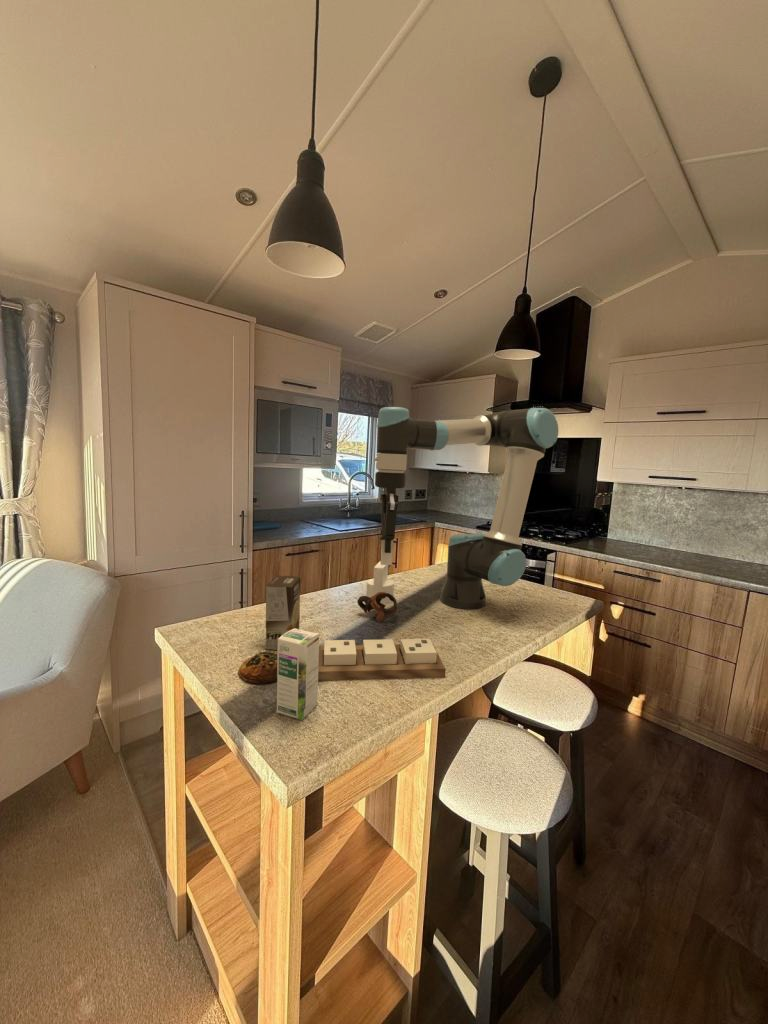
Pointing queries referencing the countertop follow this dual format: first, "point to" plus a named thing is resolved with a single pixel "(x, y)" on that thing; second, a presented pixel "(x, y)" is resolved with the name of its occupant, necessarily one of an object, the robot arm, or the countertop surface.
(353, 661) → the tile two
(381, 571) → the base with upright slab
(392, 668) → the board
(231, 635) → the countertop surface
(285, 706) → the syrup box
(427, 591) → the countertop surface
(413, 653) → the tile three
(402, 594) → the countertop surface
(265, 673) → the bread roll
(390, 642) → the tile one
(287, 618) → the coffee box
